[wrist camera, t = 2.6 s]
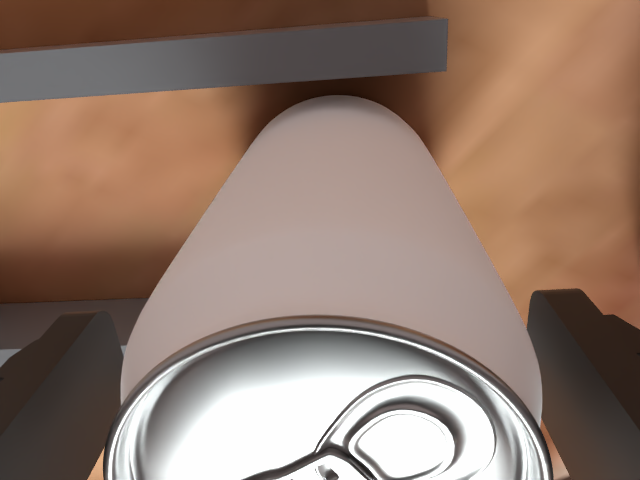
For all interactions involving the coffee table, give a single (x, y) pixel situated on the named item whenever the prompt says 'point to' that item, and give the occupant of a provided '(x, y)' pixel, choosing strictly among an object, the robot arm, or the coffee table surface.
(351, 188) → the can
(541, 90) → the coffee table surface
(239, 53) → the frame
